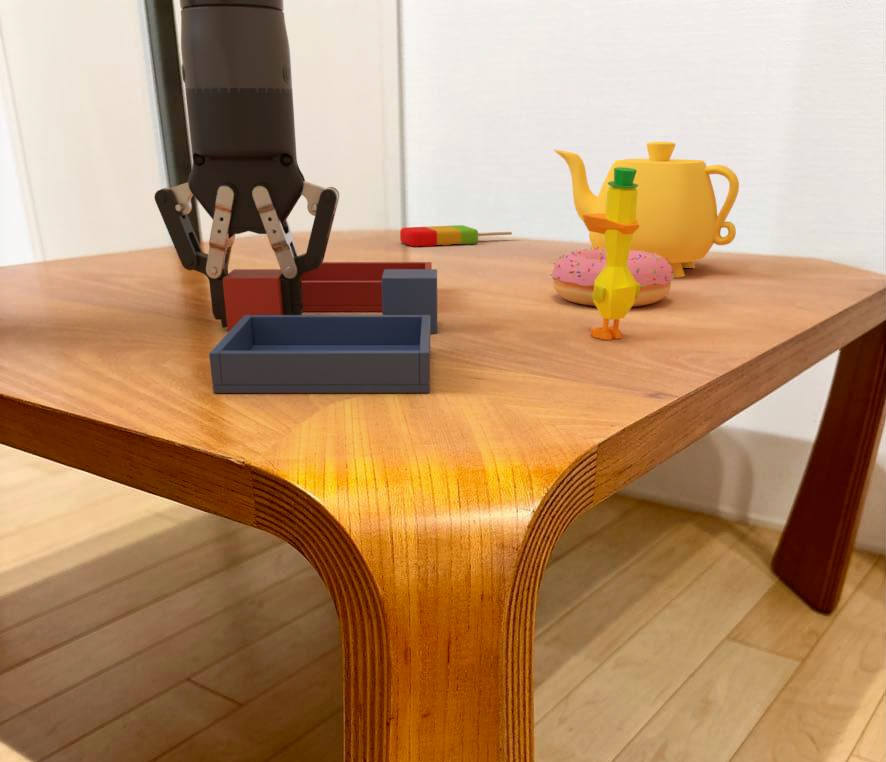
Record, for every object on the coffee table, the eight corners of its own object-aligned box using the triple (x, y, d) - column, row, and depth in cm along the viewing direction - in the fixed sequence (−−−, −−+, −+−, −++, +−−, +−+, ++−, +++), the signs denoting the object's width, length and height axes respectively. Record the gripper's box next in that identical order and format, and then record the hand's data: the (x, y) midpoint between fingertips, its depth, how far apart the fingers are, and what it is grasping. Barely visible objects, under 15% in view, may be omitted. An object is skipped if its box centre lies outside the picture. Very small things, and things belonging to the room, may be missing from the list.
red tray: (277, 311, 78) (275, 281, 77) (295, 288, 88) (293, 261, 87) (431, 311, 78) (431, 281, 77) (431, 288, 88) (431, 261, 87)
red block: (227, 333, 70) (222, 277, 69) (238, 322, 74) (233, 269, 72) (282, 333, 71) (278, 277, 69) (290, 322, 74) (286, 269, 73)
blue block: (382, 333, 71) (381, 277, 69) (385, 322, 74) (384, 269, 73) (437, 333, 71) (437, 277, 69) (437, 322, 74) (437, 269, 73)
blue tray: (213, 393, 56) (208, 352, 55) (247, 349, 66) (244, 314, 65) (429, 393, 56) (429, 352, 55) (430, 349, 66) (430, 314, 65)
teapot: (720, 284, 90) (738, 144, 85) (529, 271, 98) (534, 142, 92) (739, 265, 102) (755, 141, 96) (566, 255, 109) (573, 138, 104)
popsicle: (397, 242, 120) (397, 227, 119) (502, 237, 124) (503, 223, 123) (410, 247, 115) (410, 232, 114) (519, 242, 120) (519, 227, 119)
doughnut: (566, 285, 90) (568, 241, 88) (679, 293, 86) (684, 247, 85) (536, 305, 81) (538, 256, 79) (661, 314, 77) (666, 263, 75)
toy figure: (561, 329, 72) (570, 165, 67) (598, 325, 73) (610, 164, 68) (612, 347, 66) (627, 170, 61) (651, 342, 68) (668, 168, 63)
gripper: (343, 85, 68) (353, 315, 76) (153, 85, 68) (181, 315, 76) (333, 82, 62) (344, 336, 69) (122, 82, 62) (156, 336, 69)
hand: (259, 324), depth 72 cm, fingers closed on red block, 4 cm apart
